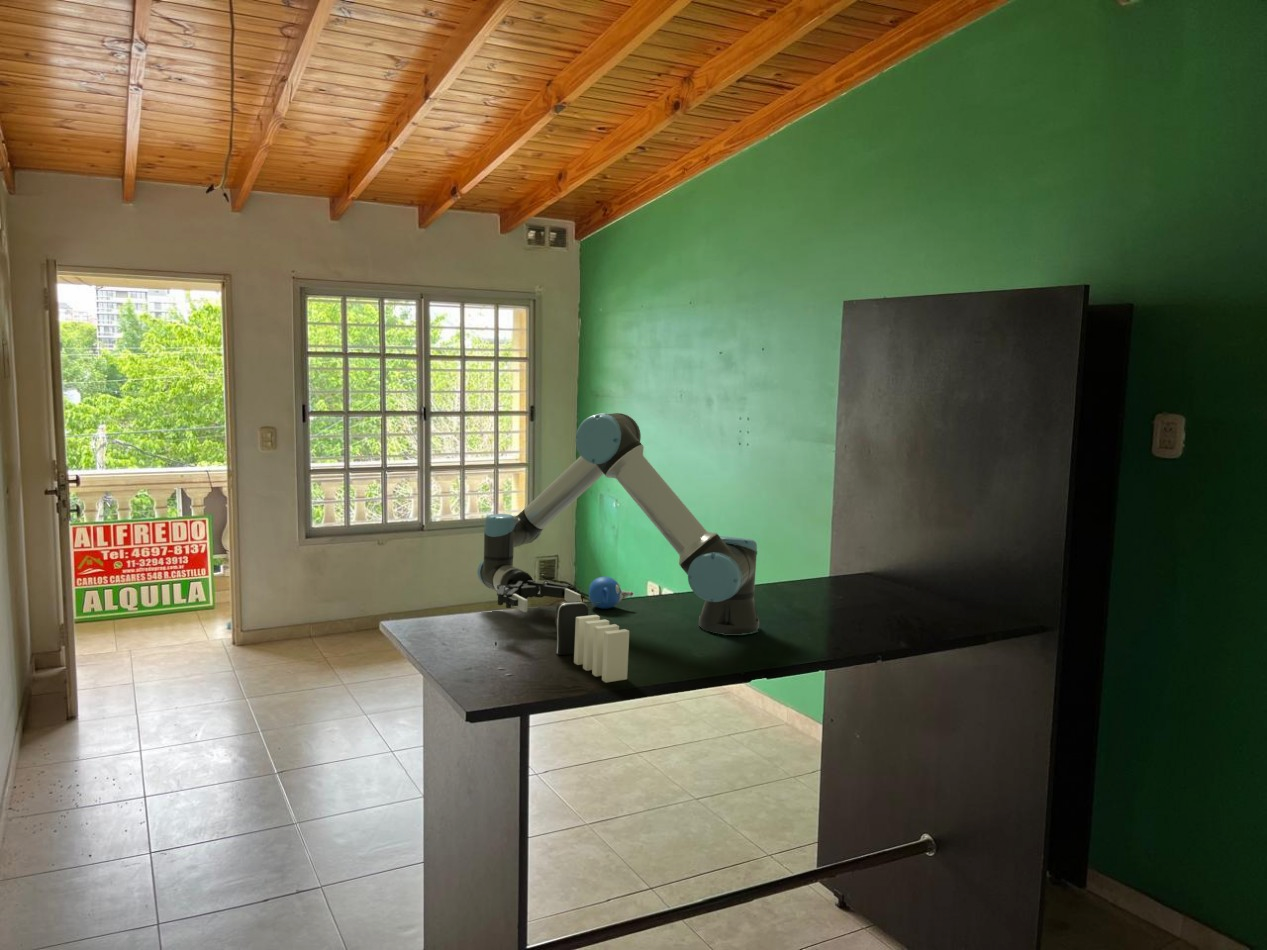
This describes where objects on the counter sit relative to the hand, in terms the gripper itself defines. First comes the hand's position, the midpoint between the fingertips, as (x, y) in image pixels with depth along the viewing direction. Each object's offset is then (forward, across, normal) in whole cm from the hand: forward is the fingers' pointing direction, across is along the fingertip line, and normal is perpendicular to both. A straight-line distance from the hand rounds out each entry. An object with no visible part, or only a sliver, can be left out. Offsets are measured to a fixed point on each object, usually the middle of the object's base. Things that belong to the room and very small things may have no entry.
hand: (553, 603), depth 200 cm
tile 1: (+16, 0, -9) cm, 18 cm away
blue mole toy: (-21, -28, -9) cm, 37 cm away
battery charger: (+8, 0, -9) cm, 12 cm away
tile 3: (+24, 0, -9) cm, 26 cm away
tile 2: (+20, 0, -9) cm, 22 cm away
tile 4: (+28, 0, -9) cm, 29 cm away
